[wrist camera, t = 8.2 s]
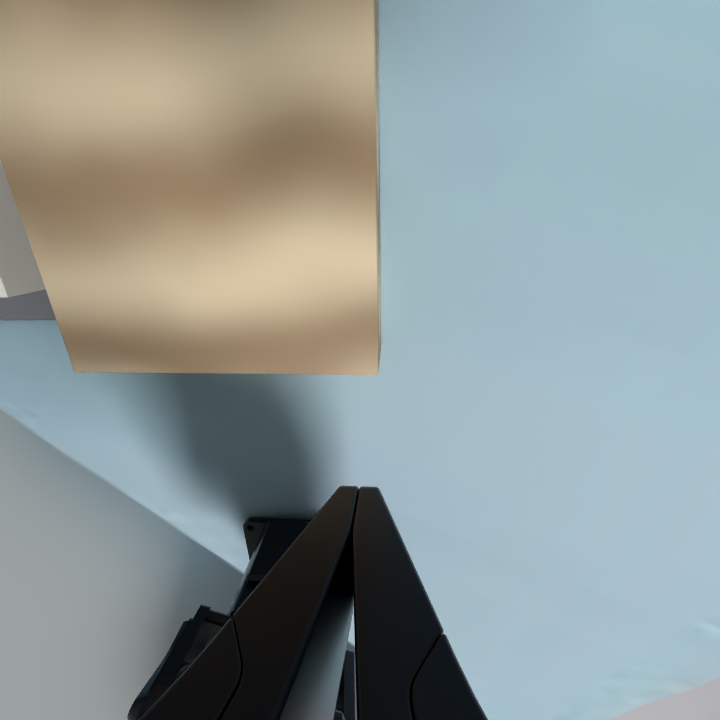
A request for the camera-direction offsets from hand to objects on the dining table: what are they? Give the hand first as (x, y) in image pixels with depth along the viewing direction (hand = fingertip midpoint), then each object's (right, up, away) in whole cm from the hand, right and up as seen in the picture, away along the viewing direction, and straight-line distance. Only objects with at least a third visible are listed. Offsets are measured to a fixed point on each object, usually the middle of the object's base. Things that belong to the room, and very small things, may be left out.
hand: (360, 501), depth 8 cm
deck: (-6, +11, +9) cm, 16 cm away
